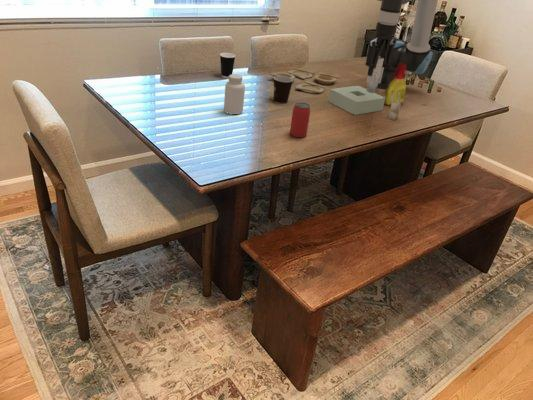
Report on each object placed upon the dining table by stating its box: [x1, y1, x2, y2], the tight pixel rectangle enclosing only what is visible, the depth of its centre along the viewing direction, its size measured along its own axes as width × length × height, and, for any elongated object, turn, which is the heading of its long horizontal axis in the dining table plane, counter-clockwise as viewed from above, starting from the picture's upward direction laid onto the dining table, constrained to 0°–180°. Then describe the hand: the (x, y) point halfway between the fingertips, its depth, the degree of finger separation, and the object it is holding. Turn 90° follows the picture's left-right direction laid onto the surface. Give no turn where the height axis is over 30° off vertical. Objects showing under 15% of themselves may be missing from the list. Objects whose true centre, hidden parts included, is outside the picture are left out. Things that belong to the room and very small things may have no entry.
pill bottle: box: [223, 73, 246, 115], centre depth 177 cm, size 8×8×15 cm
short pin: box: [387, 102, 402, 121], centre depth 193 cm, size 4×4×7 cm
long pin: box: [366, 56, 384, 94], centre depth 177 cm, size 4×4×14 cm
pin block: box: [327, 85, 385, 116], centre depth 202 cm, size 18×18×6 cm
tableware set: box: [268, 67, 341, 94], centre depth 227 cm, size 35×29×4 cm
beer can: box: [289, 101, 311, 138], centre depth 165 cm, size 7×7×12 cm
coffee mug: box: [273, 76, 294, 104], centre depth 198 cm, size 12×9×10 cm
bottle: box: [384, 63, 407, 106], centre depth 207 cm, size 12×6×20 cm, turn 120°
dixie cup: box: [219, 52, 236, 79], centre depth 218 cm, size 8×8×11 cm
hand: (373, 82), depth 179 cm, fingers closed on long pin, 4 cm apart
